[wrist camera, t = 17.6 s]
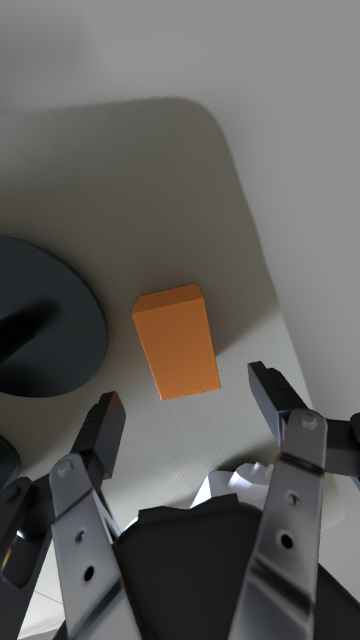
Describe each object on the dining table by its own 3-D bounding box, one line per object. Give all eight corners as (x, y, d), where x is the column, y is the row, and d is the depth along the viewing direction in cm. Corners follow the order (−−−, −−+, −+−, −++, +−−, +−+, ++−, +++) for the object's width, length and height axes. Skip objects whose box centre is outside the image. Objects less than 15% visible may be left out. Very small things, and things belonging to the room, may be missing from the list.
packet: (139, 296, 18) (130, 313, 14) (196, 282, 17) (203, 297, 14) (163, 370, 21) (161, 400, 17) (212, 360, 21) (220, 388, 17)
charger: (290, 448, 27) (244, 511, 32) (223, 438, 25) (187, 505, 31) (313, 491, 22) (256, 555, 28) (234, 481, 21) (190, 550, 26)
